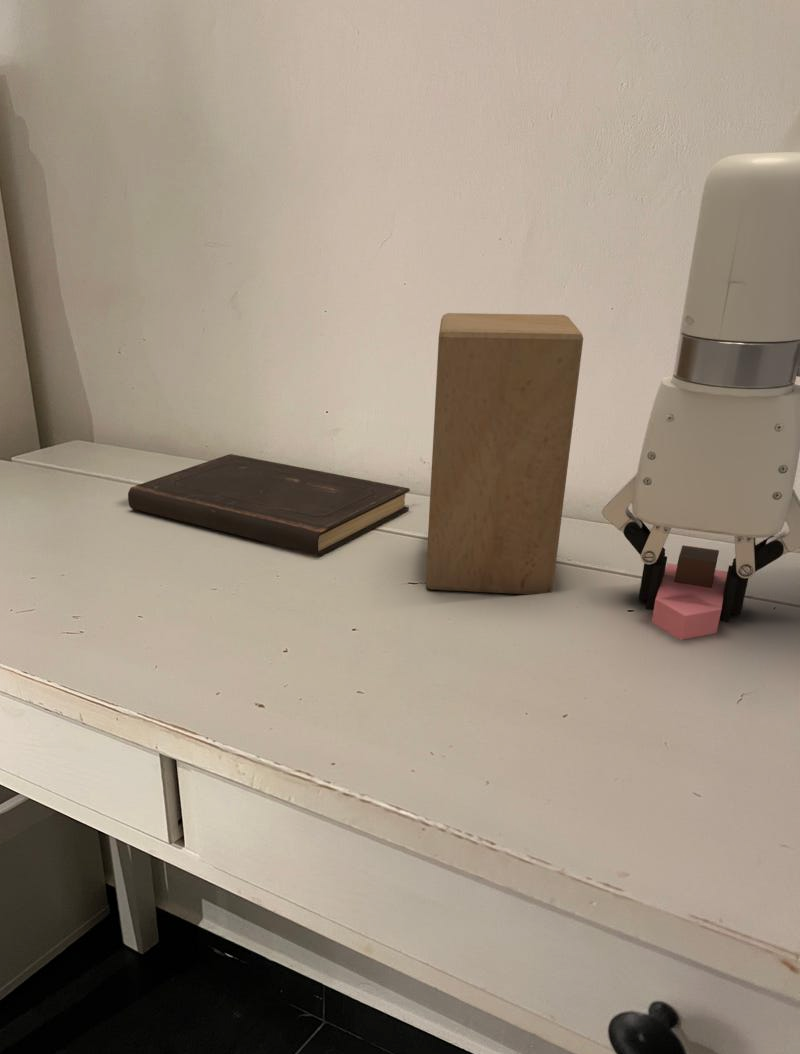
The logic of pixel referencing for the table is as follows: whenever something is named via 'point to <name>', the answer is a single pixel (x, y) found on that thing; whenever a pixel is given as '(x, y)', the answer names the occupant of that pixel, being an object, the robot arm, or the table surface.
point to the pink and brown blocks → (690, 594)
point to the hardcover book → (272, 502)
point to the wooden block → (500, 450)
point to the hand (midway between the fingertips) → (687, 612)
